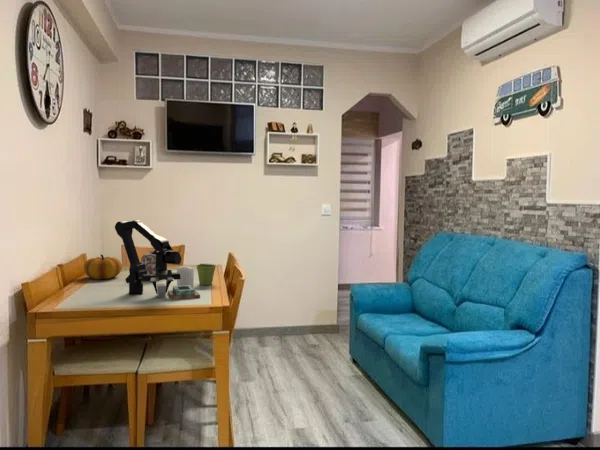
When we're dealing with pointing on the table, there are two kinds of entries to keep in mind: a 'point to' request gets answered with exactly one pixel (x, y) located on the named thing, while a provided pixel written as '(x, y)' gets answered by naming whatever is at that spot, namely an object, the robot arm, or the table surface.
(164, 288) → the silver metal block
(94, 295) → the table surface
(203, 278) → the plant pot
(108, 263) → the decorative pumpkin
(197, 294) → the well board
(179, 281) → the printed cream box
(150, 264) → the decorative jar
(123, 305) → the table surface
